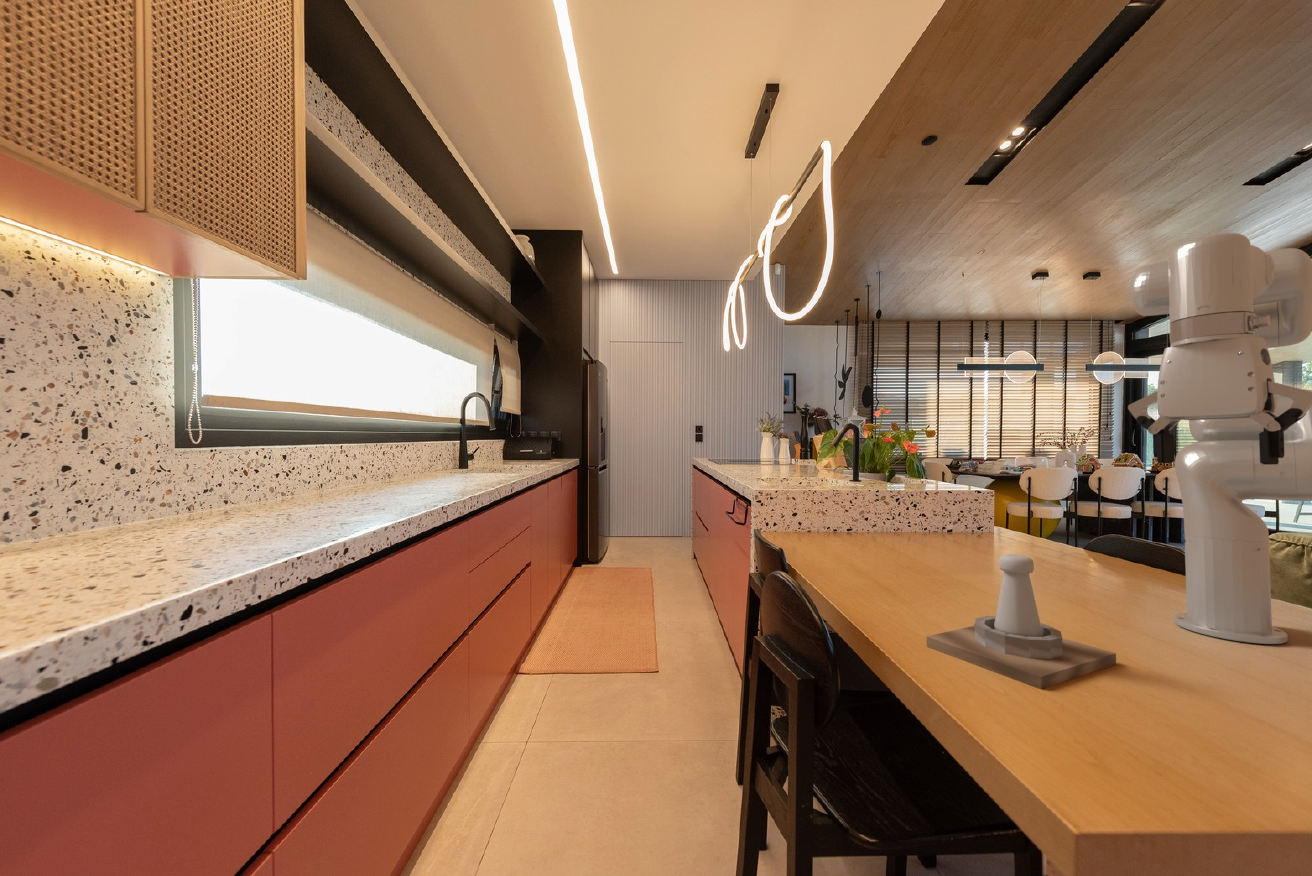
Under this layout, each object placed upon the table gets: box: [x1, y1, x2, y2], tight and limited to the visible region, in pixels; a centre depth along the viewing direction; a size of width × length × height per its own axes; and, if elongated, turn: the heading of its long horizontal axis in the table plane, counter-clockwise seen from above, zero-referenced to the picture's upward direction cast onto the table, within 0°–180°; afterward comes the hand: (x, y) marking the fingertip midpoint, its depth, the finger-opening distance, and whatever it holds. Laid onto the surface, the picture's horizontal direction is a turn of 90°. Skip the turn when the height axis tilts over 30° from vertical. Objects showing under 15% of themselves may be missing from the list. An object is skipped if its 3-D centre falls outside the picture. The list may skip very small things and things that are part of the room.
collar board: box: [926, 615, 1117, 690], centre depth 76 cm, size 18×16×4 cm
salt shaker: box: [994, 553, 1042, 637], centre depth 77 cm, size 6×6×13 cm
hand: (1214, 463), depth 68 cm, fingers open, 9 cm apart
